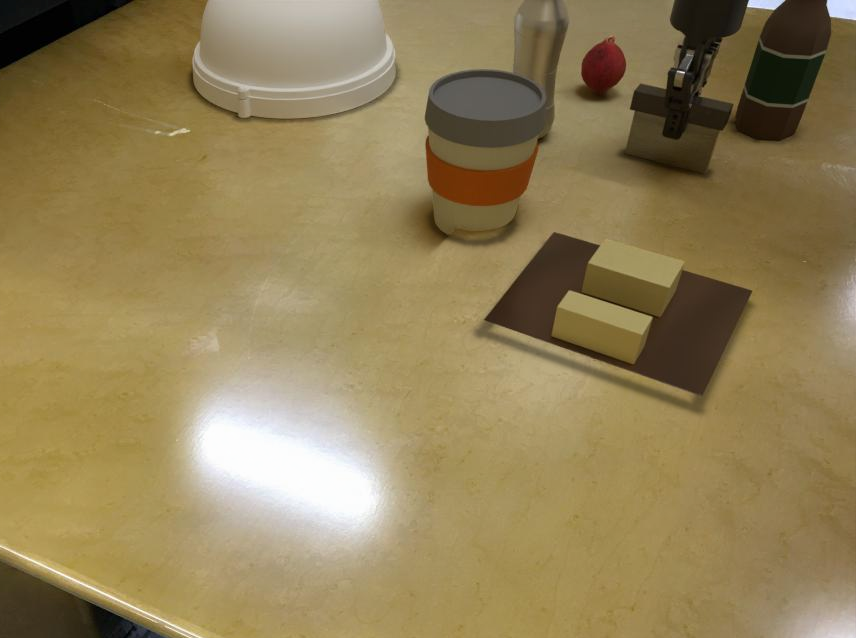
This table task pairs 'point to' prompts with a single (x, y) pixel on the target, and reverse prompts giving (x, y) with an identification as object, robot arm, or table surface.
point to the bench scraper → (697, 133)
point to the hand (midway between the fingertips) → (675, 131)
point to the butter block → (632, 277)
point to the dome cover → (292, 56)
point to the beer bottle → (784, 69)
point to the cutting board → (668, 335)
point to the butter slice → (601, 326)
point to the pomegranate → (603, 66)
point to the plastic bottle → (540, 46)
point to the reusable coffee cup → (481, 146)
